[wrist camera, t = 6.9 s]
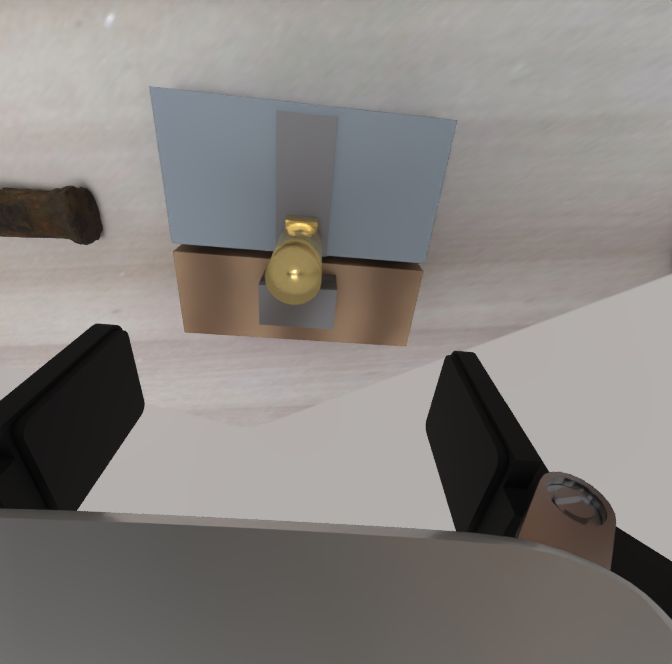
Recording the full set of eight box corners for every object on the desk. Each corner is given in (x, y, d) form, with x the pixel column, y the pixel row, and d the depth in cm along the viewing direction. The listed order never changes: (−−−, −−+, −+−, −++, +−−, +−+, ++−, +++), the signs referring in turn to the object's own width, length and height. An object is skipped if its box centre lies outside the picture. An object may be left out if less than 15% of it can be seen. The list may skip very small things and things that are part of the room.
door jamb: (411, 254, 29) (433, 286, 23) (397, 323, 33) (413, 366, 27) (191, 236, 28) (155, 265, 22) (199, 309, 31) (170, 352, 25)
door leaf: (438, 121, 25) (458, 120, 21) (413, 247, 29) (425, 264, 25) (175, 92, 23) (146, 85, 20) (190, 228, 28) (170, 244, 24)
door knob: (323, 218, 23) (323, 252, 17) (317, 312, 27) (314, 370, 20) (281, 214, 23) (264, 247, 17) (280, 309, 27) (266, 367, 20)
